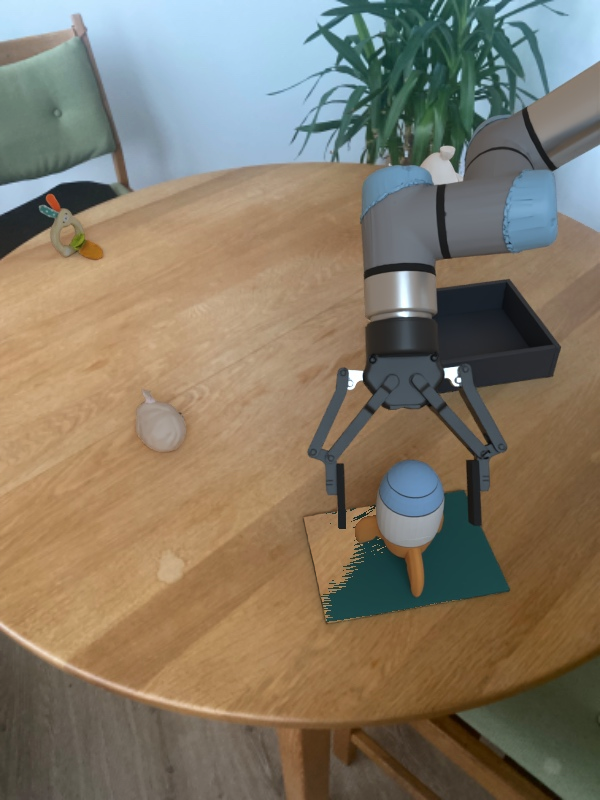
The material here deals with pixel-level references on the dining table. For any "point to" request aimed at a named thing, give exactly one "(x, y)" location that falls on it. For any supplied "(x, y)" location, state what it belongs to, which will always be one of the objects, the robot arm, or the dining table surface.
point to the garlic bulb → (159, 424)
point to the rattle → (64, 220)
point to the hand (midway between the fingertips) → (408, 526)
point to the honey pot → (442, 166)
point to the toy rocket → (406, 515)
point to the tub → (492, 334)
